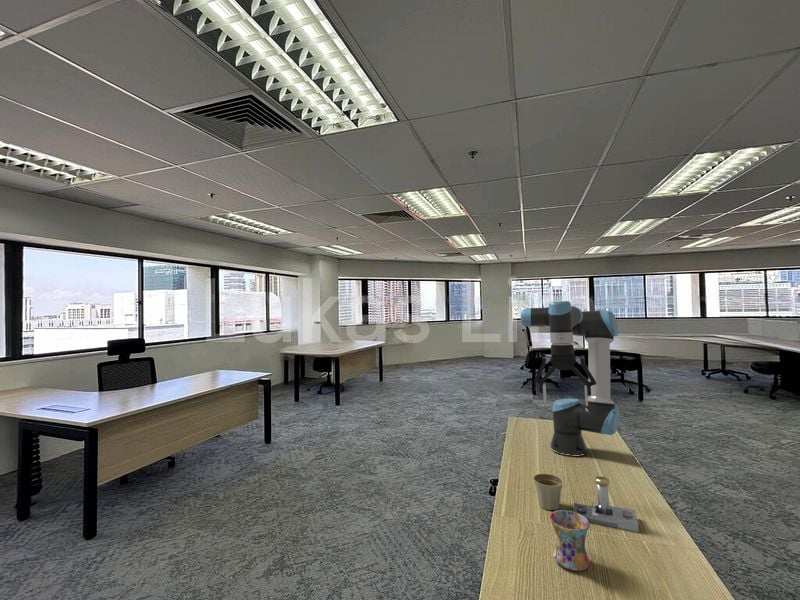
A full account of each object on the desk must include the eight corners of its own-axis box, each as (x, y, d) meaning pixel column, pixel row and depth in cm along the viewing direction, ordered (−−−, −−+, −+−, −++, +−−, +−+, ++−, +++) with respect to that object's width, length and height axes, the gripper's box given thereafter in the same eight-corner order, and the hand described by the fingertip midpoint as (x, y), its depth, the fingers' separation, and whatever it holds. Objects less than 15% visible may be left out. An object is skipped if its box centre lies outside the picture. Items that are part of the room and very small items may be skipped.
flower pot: (563, 500, 123) (562, 474, 123) (566, 515, 114) (564, 487, 114) (533, 497, 126) (532, 472, 126) (534, 511, 117) (533, 484, 117)
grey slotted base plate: (574, 506, 119) (573, 497, 119) (635, 518, 111) (634, 508, 111) (573, 519, 112) (572, 509, 112) (638, 532, 104) (638, 521, 104)
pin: (597, 514, 114) (594, 475, 114) (611, 517, 112) (608, 477, 113) (597, 520, 110) (595, 480, 111) (611, 523, 109) (609, 482, 109)
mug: (596, 577, 87) (593, 532, 88) (555, 572, 89) (552, 527, 90) (584, 546, 99) (581, 506, 99) (547, 542, 101) (545, 503, 101)
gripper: (524, 345, 133) (527, 403, 132) (601, 344, 121) (606, 408, 121) (527, 343, 139) (530, 398, 139) (600, 342, 128) (604, 403, 127)
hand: (565, 403), depth 130 cm, fingers open, 13 cm apart
